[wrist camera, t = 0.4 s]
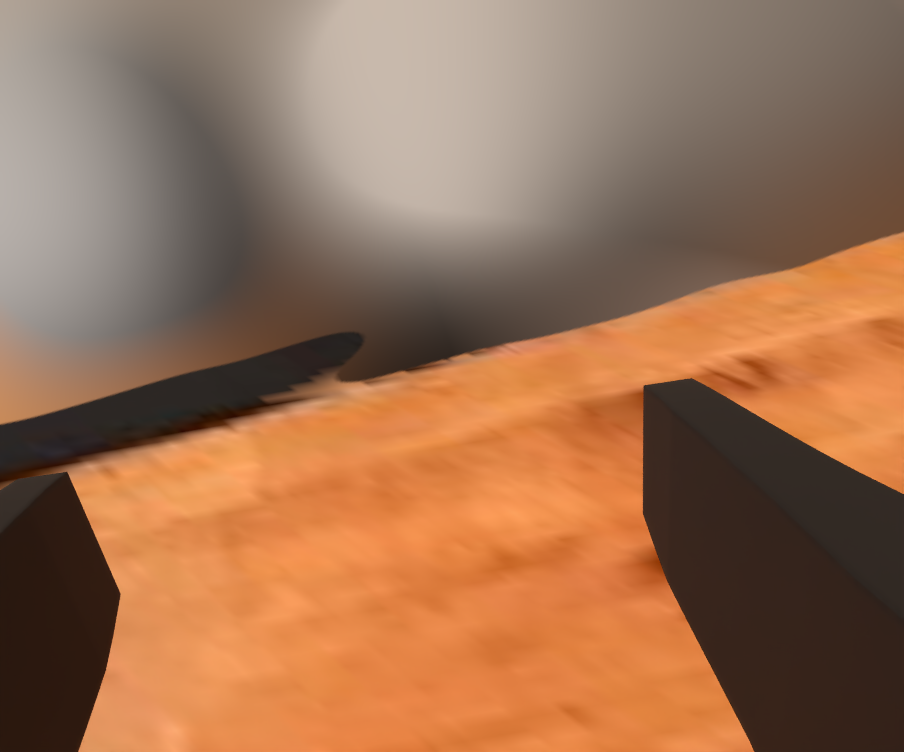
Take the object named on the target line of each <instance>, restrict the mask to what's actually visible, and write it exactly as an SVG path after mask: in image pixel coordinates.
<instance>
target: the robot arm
mask: <svg viewBox="0 0 904 752" xmlns="http://www.w3.org/2000/svg"><path fill="white" fill-rule="evenodd" d="M643 515H644V518H645V521H646V524H647V526H648V529H649V532H650V535H651V538H652V541H653V544H654V547H655V549H656V552H657V555H658V558H659V560H660V563H661V566H662V568H663V571H664V574H665V576H666V579H667V581H668V583H669V585H670V588H671V590H672V592H673V594H674V596H675V598H676V600H677V601H678V603H679V605H680V607H681V609H682V611H683V613H684V615H685V617H686V619H687V621H688V623H689V625H690V627H691V629H692V631H693V633H694V635H695V637H696V639H697V641H698V642H699V644H700V646H701V648H702V650H703V652H704V654H705V656H706V658H707V660H708V662H709V664H710V665H711V667H712V669H713V671H714V673H715V675H716V677H717V679H718V681H719V683H720V685H721V687H722V689H723V691H724V692H725V694H726V696H727V698H728V700H729V702H730V704H731V706H732V708H733V710H734V712H735V714H736V716H737V717H738V719H739V721H740V723H741V725H742V727H743V729H744V731H745V733H746V735H747V737H748V739H749V741H750V743H751V745H752V747H753V749H754V752H904V494H902V493H900V492H898V491H896V490H894V489H892V488H890V487H888V486H886V485H884V484H882V483H880V482H878V481H876V480H874V479H872V478H870V477H868V476H866V475H863V474H861V473H859V472H858V471H856V470H854V469H852V468H850V467H848V466H846V465H844V464H842V463H841V462H839V461H837V460H835V459H833V458H831V457H829V456H827V455H826V454H824V453H822V452H820V451H818V450H816V449H815V448H813V447H811V446H809V445H808V444H806V443H804V442H802V441H800V440H799V439H797V438H795V437H793V436H792V435H790V434H788V433H786V432H785V431H783V430H781V429H779V428H778V427H776V426H774V425H772V424H771V423H769V422H767V421H766V420H764V419H762V418H761V417H759V416H757V415H755V414H754V413H752V412H750V411H749V410H747V409H745V408H744V407H742V406H740V405H738V404H737V403H735V402H733V401H732V400H730V399H728V398H727V397H725V396H723V395H721V394H720V393H718V392H716V391H714V390H713V389H711V388H709V387H707V386H705V385H704V384H702V383H700V382H698V381H696V380H694V379H692V378H691V379H684V380H677V381H671V382H664V383H657V384H651V385H644V410H643ZM119 600H120V592H119V589H118V587H117V585H116V582H115V580H114V578H113V576H112V573H111V571H110V569H109V566H108V564H107V562H106V560H105V557H104V555H103V553H102V550H101V548H100V546H99V544H98V541H97V539H96V537H95V534H94V532H93V530H92V528H91V525H90V523H89V521H88V518H87V516H86V514H85V512H84V509H83V507H82V505H81V502H80V500H79V498H78V496H77V493H76V491H75V489H74V486H73V484H72V482H71V480H70V477H69V475H68V473H67V472H63V473H56V474H50V475H43V476H36V477H30V478H23V479H17V480H16V481H14V482H13V483H11V484H9V485H8V486H6V487H5V488H3V489H2V490H0V752H78V750H79V748H80V745H81V742H82V739H83V736H84V733H85V730H86V728H87V725H88V722H89V719H90V716H91V713H92V710H93V707H94V704H95V701H96V698H97V695H98V692H99V689H100V686H101V683H102V680H103V677H104V674H105V671H106V667H107V662H108V658H109V653H110V648H111V644H112V639H113V634H114V628H115V623H116V617H117V611H118V606H119Z"/></svg>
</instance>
